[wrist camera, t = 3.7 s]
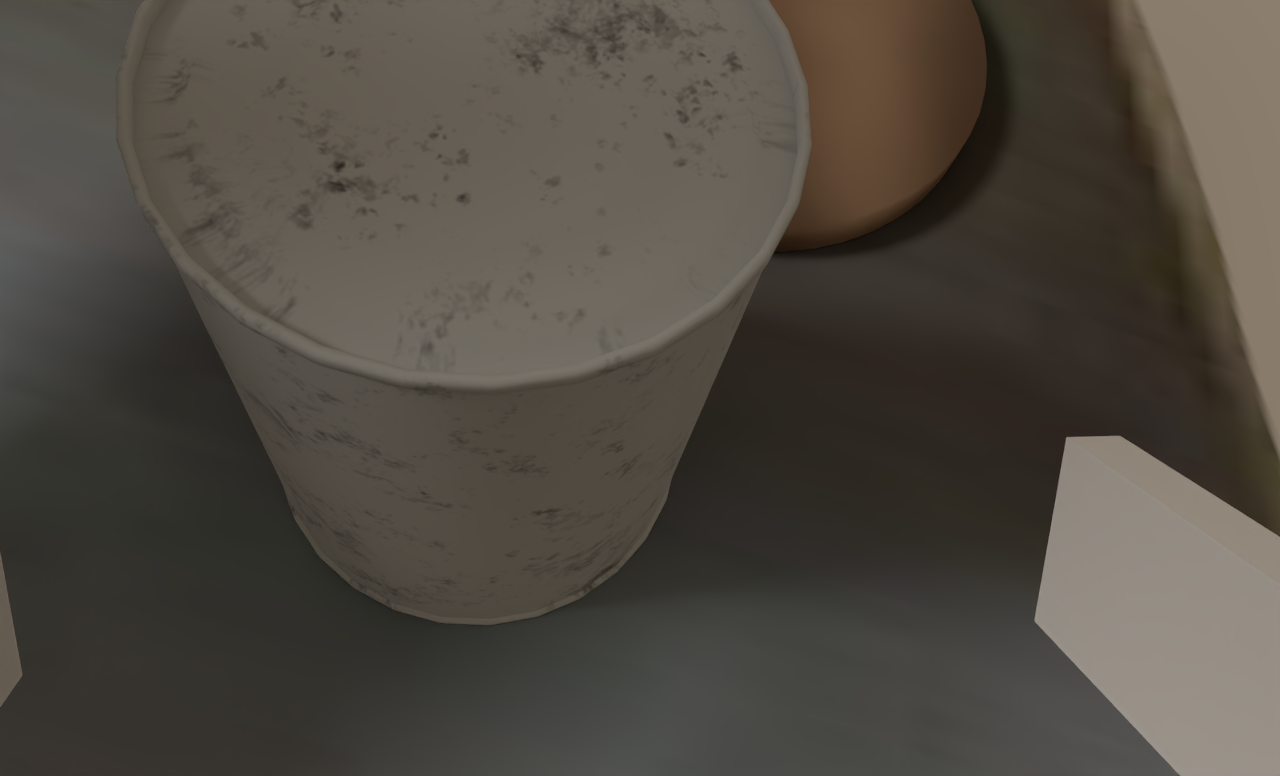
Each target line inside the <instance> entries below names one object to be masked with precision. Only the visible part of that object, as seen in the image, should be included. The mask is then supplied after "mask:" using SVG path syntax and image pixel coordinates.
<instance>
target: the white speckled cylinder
mask: <svg viewBox="0 0 1280 776" xmlns="http://www.w3.org/2000/svg"><path fill="white" fill-rule="evenodd" d="M116 113H117V143H118V146H119V150H120V153H121V156H122V159H123V162H124V165H125V168H126V171H127V175H128V178H129V181H130V184H131V187H132V190H133V193H134V197H135V200H136V203H137V206H138V208H139V210H140V212H141V213H142V215H143V216H144V218H145V219H146V221H147V222H148V224H149V225H150V227H151V228H152V230H153V231H154V232H155V234H156V235H157V237H158V238H159V240H160V241H161V243H162V244H163V246H164V247H165V249H166V250H167V252H168V253H169V255H170V256H171V258H172V259H173V261H174V263H175V265H176V267H177V269H178V271H179V273H180V276H181V278H182V280H183V282H184V284H185V286H186V288H187V290H188V292H189V294H190V296H191V298H192V300H193V302H194V304H195V306H196V308H197V310H198V312H199V314H200V317H201V319H202V321H203V323H204V325H205V327H206V329H207V331H208V333H209V335H210V337H211V339H212V341H213V343H214V345H215V347H216V349H217V351H218V353H219V355H220V358H221V360H222V362H223V364H224V366H225V368H226V370H227V372H228V374H229V376H230V378H231V380H232V382H233V384H234V386H235V388H236V390H237V392H238V394H239V396H240V399H241V401H242V403H243V405H244V407H245V409H246V411H247V413H248V415H249V417H250V419H251V421H252V423H253V425H254V427H255V429H256V431H257V433H258V435H259V437H260V439H261V442H262V444H263V446H264V448H265V450H266V452H267V454H268V456H269V458H270V460H271V462H272V464H273V466H274V468H275V470H276V472H277V474H278V476H279V478H280V480H281V483H282V485H283V488H284V491H285V494H286V497H287V499H288V502H289V505H290V508H291V511H292V514H293V517H294V519H295V521H296V522H297V524H298V525H299V527H300V528H301V530H302V531H303V533H304V535H305V536H306V538H307V539H308V541H309V542H310V544H311V545H312V547H313V548H314V550H315V551H316V553H317V554H318V556H319V557H320V558H321V559H322V560H323V561H324V562H325V563H327V564H328V565H329V566H330V567H331V568H332V569H333V570H334V571H335V572H336V573H338V574H339V575H340V576H341V577H342V578H343V579H344V580H345V581H346V582H347V583H348V584H350V585H351V586H352V587H353V588H355V589H356V590H358V591H360V592H362V593H364V594H366V595H367V596H369V597H371V598H373V599H375V600H377V601H378V602H380V603H382V604H384V605H386V606H387V607H389V608H391V609H393V610H395V611H399V612H402V613H406V614H410V615H413V616H417V617H420V618H424V619H428V620H431V621H435V622H438V623H448V624H470V625H494V624H500V623H506V622H511V621H517V620H523V619H528V618H534V617H538V616H540V615H543V614H545V613H547V612H550V611H552V610H555V609H557V608H559V607H562V606H564V605H567V604H569V603H571V602H574V601H576V600H579V599H581V598H582V597H583V596H585V595H586V594H588V593H589V592H590V591H592V590H593V589H595V588H596V587H597V586H599V585H600V584H602V583H603V582H604V581H606V580H607V579H609V578H610V577H611V576H613V575H614V574H616V573H617V572H618V571H619V570H620V568H621V567H622V566H623V565H624V564H625V563H626V562H627V560H628V559H629V558H630V557H631V556H632V555H633V554H634V553H635V551H636V550H637V549H638V548H639V547H640V546H641V545H642V543H643V542H644V541H645V540H646V538H647V537H648V535H649V533H650V531H651V529H652V527H653V525H654V523H655V521H656V519H657V517H658V516H659V514H660V512H661V510H662V508H663V506H664V504H665V502H666V500H667V496H668V492H669V488H670V484H671V480H672V476H673V474H674V472H675V470H676V467H677V465H678V463H679V460H680V458H681V456H682V454H683V451H684V449H685V447H686V444H687V442H688V440H689V438H690V435H691V433H692V431H693V428H694V426H695V424H696V422H697V419H698V417H699V415H700V412H701V410H702V408H703V406H704V403H705V401H706V399H707V396H708V394H709V392H710V390H711V387H712V385H713V383H714V381H715V378H716V376H717V374H718V371H719V369H720V367H721V365H722V362H723V360H724V358H725V355H726V353H727V351H728V349H729V346H730V344H731V342H732V339H733V337H734V335H735V333H736V330H737V328H738V326H739V323H740V321H741V319H742V317H743V314H744V312H745V310H746V307H747V305H748V303H749V301H750V298H751V296H752V294H753V291H754V289H755V287H756V285H757V282H758V280H759V278H760V275H761V273H762V271H763V269H764V268H765V267H766V266H767V264H768V262H769V260H770V258H771V257H772V255H773V253H774V251H775V249H776V247H777V246H778V244H779V242H780V240H781V238H782V236H783V234H784V233H785V231H786V229H787V227H788V225H789V223H790V221H791V220H792V218H793V216H794V214H795V212H796V210H797V208H798V206H799V203H800V198H801V193H802V189H803V184H804V180H805V175H806V170H807V166H808V161H809V156H810V152H811V147H812V142H811V128H810V114H809V99H808V87H807V83H806V80H805V77H804V74H803V71H802V68H801V66H800V63H799V60H798V57H797V54H796V51H795V48H794V45H793V43H792V40H791V37H790V34H789V31H788V29H787V28H786V26H785V24H784V23H783V21H782V20H781V18H780V17H779V15H778V14H777V12H776V11H775V9H774V7H773V6H772V4H771V3H770V1H769V0H144V1H143V2H142V4H141V5H140V7H139V8H138V10H137V12H136V13H135V16H134V19H133V22H132V26H131V29H130V32H129V35H128V39H127V42H126V45H125V48H124V52H123V55H122V58H121V61H120V65H119V68H118V71H117V76H116Z"/></svg>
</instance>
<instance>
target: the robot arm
mask: <svg viewBox="0 0 1280 776" xmlns="http://www.w3.org/2000/svg"><path fill="white" fill-rule="evenodd" d="M1034 621H1035V622H1036V623H1037V624H1038V625H1039V627H1040V628H1041V629H1042V630H1043V631H1044V632H1045V633H1046V634H1047V635H1048V636H1049V637H1050V638H1051V639H1052V640H1053V641H1054V642H1055V644H1056V645H1057V646H1058V647H1059V648H1060V649H1061V650H1062V651H1063V652H1064V653H1065V654H1066V655H1067V656H1068V657H1069V658H1070V659H1071V660H1072V662H1073V663H1074V664H1075V665H1076V666H1077V667H1078V668H1079V669H1080V670H1081V671H1082V672H1083V673H1084V674H1085V675H1086V676H1087V677H1088V678H1089V680H1090V681H1091V682H1092V683H1093V684H1094V685H1095V686H1096V687H1097V688H1098V689H1099V690H1100V691H1101V692H1102V693H1103V694H1104V695H1105V697H1106V698H1107V699H1108V700H1109V701H1110V702H1111V703H1112V704H1113V705H1114V706H1115V707H1116V708H1117V709H1118V710H1119V711H1120V712H1121V713H1122V715H1123V716H1124V717H1125V718H1126V719H1127V720H1128V721H1129V722H1130V723H1131V724H1132V725H1133V726H1134V727H1135V728H1136V729H1137V730H1138V732H1139V733H1140V734H1141V735H1142V736H1143V737H1144V738H1145V739H1146V740H1147V741H1148V742H1149V743H1150V744H1151V745H1152V746H1153V747H1154V748H1155V750H1156V751H1157V752H1158V753H1159V754H1160V755H1161V756H1162V757H1163V758H1164V759H1165V760H1166V761H1167V762H1168V763H1169V764H1170V765H1171V766H1172V768H1173V769H1174V770H1175V771H1176V772H1177V773H1178V774H1179V775H1180V776H1280V537H1279V536H1278V535H1276V534H1274V533H1273V532H1271V531H1270V530H1268V529H1267V528H1265V527H1263V526H1262V525H1260V524H1259V523H1257V522H1255V521H1254V520H1252V519H1251V518H1249V517H1248V516H1246V515H1244V514H1243V513H1241V512H1240V511H1238V510H1237V509H1235V508H1233V507H1232V506H1230V505H1229V504H1227V503H1225V502H1224V501H1222V500H1221V499H1219V498H1218V497H1216V496H1214V495H1213V494H1211V493H1210V492H1208V491H1207V490H1205V489H1203V488H1202V487H1200V486H1199V485H1197V484H1195V483H1194V482H1192V481H1191V480H1189V479H1188V478H1186V477H1184V476H1183V475H1181V474H1180V473H1178V472H1177V471H1175V470H1173V469H1172V468H1170V467H1169V466H1167V465H1165V464H1164V463H1162V462H1161V461H1159V460H1158V459H1156V458H1154V457H1153V456H1151V455H1150V454H1148V453H1146V452H1145V451H1143V450H1142V449H1140V448H1139V447H1137V446H1135V445H1134V444H1132V443H1131V442H1129V441H1128V440H1126V439H1124V438H1123V437H1121V436H1091V437H1066V442H1065V448H1064V454H1063V459H1062V465H1061V471H1060V477H1059V482H1058V488H1057V494H1056V500H1055V505H1054V511H1053V517H1052V523H1051V528H1050V534H1049V540H1048V546H1047V551H1046V557H1045V563H1044V569H1043V574H1042V580H1041V586H1040V591H1039V597H1038V603H1037V609H1036V614H1035V620H1034ZM22 676H23V675H22V669H21V664H20V658H19V653H18V647H17V642H16V636H15V631H14V625H13V620H12V614H11V608H10V603H9V597H8V592H7V586H6V581H5V575H4V570H3V564H2V559H1V553H0V707H1V706H2V704H3V703H4V701H5V700H6V699H7V697H8V696H9V694H10V693H11V691H12V690H13V688H14V687H15V686H16V684H17V683H18V681H19V680H20V678H21V677H22Z"/></svg>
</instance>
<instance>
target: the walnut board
mask: <svg viewBox="0 0 1280 776" xmlns="http://www.w3.org/2000/svg"><path fill="white" fill-rule="evenodd" d="M769 1H770V3H771V4H772V6H773V7H774V9H775V11H776V12H777V14H778V15H779V17H780V18H781V20H782V21H783V23H784V24H785V26H786V28H787V29H788V31H789V34H790V37H791V40H792V43H793V45H794V48H795V51H796V54H797V57H798V60H799V63H800V66H801V68H802V71H803V74H804V77H805V80H806V83H807V87H808V99H809V114H810V128H811V142H812V147H811V152H810V156H809V161H808V166H807V170H806V175H805V180H804V184H803V189H802V193H801V198H800V203H799V206H798V208H797V210H796V212H795V214H794V216H793V218H792V220H791V221H790V223H789V225H788V227H787V229H786V231H785V233H784V234H783V236H782V238H781V240H780V242H779V244H778V246H777V247H776V249H775V251H774V252H789V251H799V250H809V249H816V248H820V247H825V246H829V245H833V244H838V243H842V242H846V241H849V240H851V239H854V238H857V237H860V236H862V235H865V234H868V233H870V232H873V231H875V230H877V229H879V228H881V227H883V226H884V225H886V224H888V223H890V222H892V221H894V220H896V219H897V218H899V217H901V216H902V215H903V214H905V213H906V212H907V211H909V210H910V209H911V208H913V207H914V206H915V205H917V204H918V203H919V202H921V201H922V200H923V199H924V198H925V197H926V196H927V195H928V193H929V192H930V191H931V190H932V189H933V188H934V187H935V186H936V185H937V184H938V183H939V182H940V181H941V179H942V178H943V176H944V175H945V173H946V172H947V170H948V169H949V167H950V166H951V164H952V163H953V161H954V160H955V158H956V157H957V155H958V153H959V152H960V150H961V149H962V147H963V145H964V144H965V142H966V141H967V139H968V137H969V136H970V134H971V132H972V129H973V127H974V125H975V123H976V120H977V118H978V116H979V114H980V111H981V106H982V102H983V98H984V94H985V90H986V76H987V58H986V49H985V41H984V36H983V33H982V29H981V26H980V22H979V18H978V15H977V13H976V10H975V8H974V6H973V4H972V1H971V0H769Z"/></svg>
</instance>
